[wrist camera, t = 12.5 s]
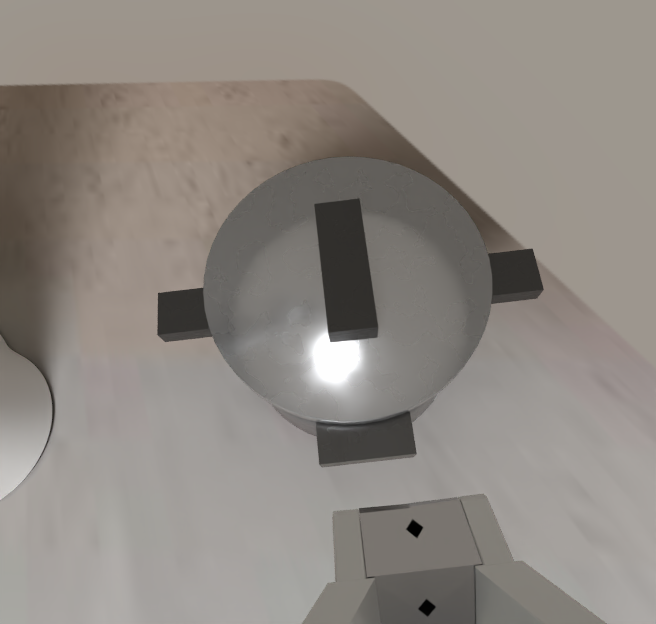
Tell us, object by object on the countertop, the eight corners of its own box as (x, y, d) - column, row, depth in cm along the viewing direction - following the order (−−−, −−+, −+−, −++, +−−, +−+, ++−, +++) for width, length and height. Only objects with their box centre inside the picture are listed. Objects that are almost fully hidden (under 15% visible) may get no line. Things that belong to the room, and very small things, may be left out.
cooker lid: (212, 440, 33) (196, 432, 30) (206, 185, 40) (192, 156, 37) (516, 406, 33) (533, 394, 30) (457, 154, 40) (466, 122, 37)
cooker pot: (204, 491, 44) (151, 483, 33) (200, 268, 52) (156, 200, 41) (530, 455, 44) (587, 434, 33) (479, 235, 51) (511, 156, 40)
